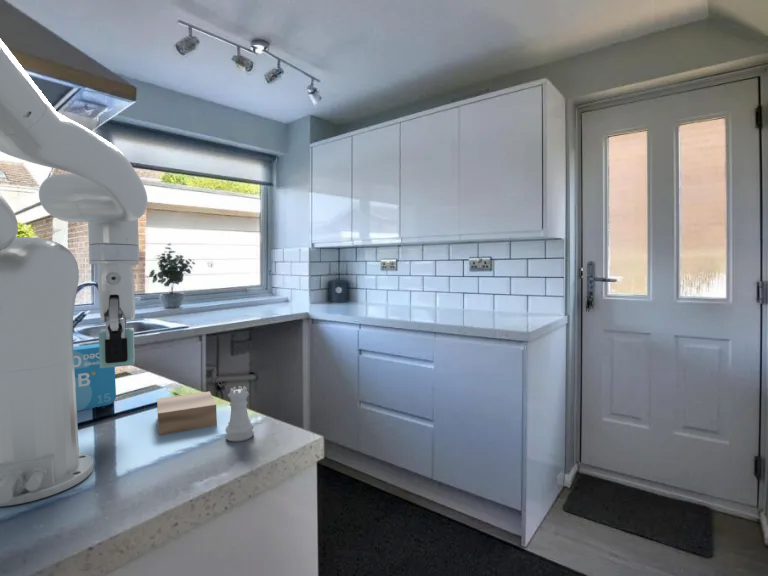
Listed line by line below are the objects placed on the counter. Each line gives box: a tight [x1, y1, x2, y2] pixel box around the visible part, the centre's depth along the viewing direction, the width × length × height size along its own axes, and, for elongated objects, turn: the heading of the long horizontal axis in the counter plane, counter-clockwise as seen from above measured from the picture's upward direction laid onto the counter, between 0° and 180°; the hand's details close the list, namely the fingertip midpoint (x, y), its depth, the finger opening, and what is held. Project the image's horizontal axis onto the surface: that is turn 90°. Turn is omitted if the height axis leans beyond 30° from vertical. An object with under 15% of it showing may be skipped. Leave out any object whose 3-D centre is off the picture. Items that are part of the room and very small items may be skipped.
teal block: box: [98, 327, 136, 368], centre depth 78 cm, size 5×5×6 cm
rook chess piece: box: [224, 385, 255, 443], centre depth 71 cm, size 4×4×8 cm
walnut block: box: [156, 391, 218, 436], centre depth 79 cm, size 9×9×4 cm
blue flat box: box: [73, 343, 117, 412], centre depth 87 cm, size 12×4×12 cm, turn 133°
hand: (117, 358), depth 78 cm, fingers closed on teal block, 5 cm apart
